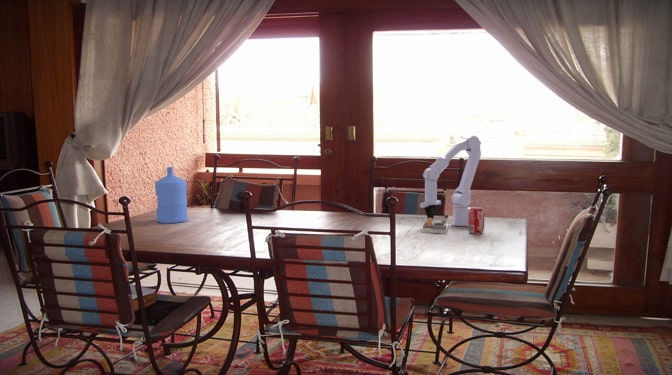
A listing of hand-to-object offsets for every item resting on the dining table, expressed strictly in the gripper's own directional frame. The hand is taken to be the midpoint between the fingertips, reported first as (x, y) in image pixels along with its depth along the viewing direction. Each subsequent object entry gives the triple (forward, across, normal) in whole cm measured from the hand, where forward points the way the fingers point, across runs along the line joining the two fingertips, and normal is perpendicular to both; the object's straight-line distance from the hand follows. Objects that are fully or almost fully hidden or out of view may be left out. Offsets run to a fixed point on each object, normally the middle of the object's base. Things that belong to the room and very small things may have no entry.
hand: (430, 220), depth 304 cm
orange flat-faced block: (+1, -4, -3) cm, 5 cm away
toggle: (0, +1, -7) cm, 7 cm away
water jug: (+3, -77, +108) cm, 133 cm away
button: (+1, -8, -11) cm, 13 cm away
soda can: (+3, +1, -25) cm, 25 cm away
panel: (+3, -4, -6) cm, 8 cm away
